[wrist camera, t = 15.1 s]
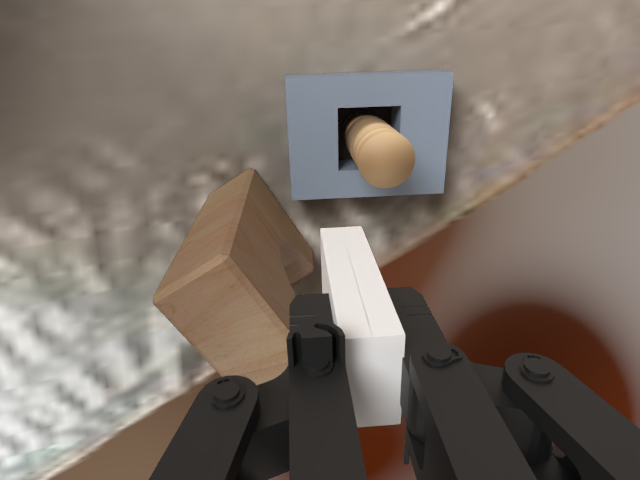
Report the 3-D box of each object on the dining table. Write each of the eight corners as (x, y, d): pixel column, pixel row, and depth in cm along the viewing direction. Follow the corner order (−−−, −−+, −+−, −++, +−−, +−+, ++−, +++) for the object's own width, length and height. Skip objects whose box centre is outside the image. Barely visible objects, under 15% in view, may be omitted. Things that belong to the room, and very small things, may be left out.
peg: (340, 110, 41) (358, 133, 30) (383, 108, 41) (416, 130, 30) (341, 153, 43) (358, 189, 32) (382, 151, 43) (413, 187, 32)
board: (285, 74, 40) (284, 77, 36) (439, 69, 40) (454, 71, 37) (291, 187, 44) (291, 200, 40) (430, 181, 44) (443, 193, 41)
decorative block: (314, 251, 47) (328, 383, 29) (268, 277, 48) (255, 420, 29) (254, 164, 43) (227, 252, 24) (206, 193, 44) (145, 300, 25)
